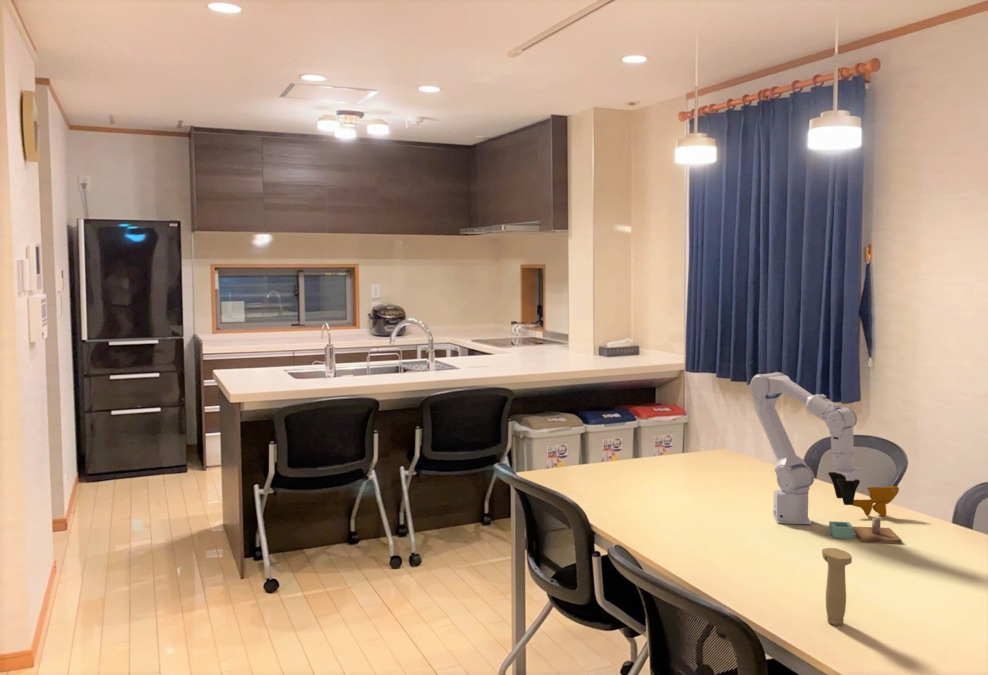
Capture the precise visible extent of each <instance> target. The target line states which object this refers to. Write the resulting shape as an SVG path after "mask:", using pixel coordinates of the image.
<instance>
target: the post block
mask: <svg viewBox="0 0 988 675" xmlns="http://www.w3.org/2000/svg"><path fill="white" fill-rule="evenodd" d="M871 520H872V521H871V522H872V525H871V526H853V527H854V535H855V534H856V535H855V536H856V537H857V538H858V540H860V542H861V543H872V542H882V543H881V544H897V543H902V541H903V540H902V539H901V538H900V536H898V535H897V534H896V533H895V531H894V530H892V529H891V528H890V527H881V521H882V520H881V518H880V517H872V519H871Z"/></svg>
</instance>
